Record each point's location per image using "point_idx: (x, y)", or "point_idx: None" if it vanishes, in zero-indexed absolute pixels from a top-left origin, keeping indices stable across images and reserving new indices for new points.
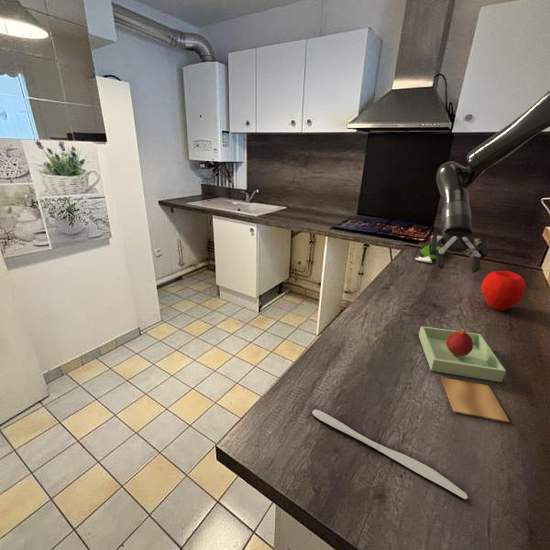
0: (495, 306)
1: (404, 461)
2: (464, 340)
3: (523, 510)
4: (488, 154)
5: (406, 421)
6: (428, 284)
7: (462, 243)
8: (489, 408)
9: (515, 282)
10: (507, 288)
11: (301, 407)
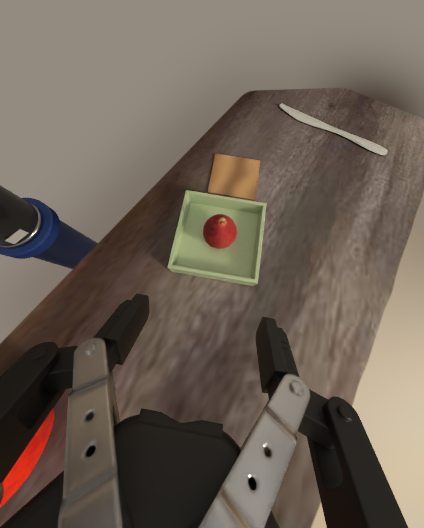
0: None
1: (314, 121)
2: (222, 214)
3: (247, 103)
4: None
5: (304, 152)
6: None
7: (135, 479)
8: (225, 165)
9: None
10: None
11: (395, 159)
